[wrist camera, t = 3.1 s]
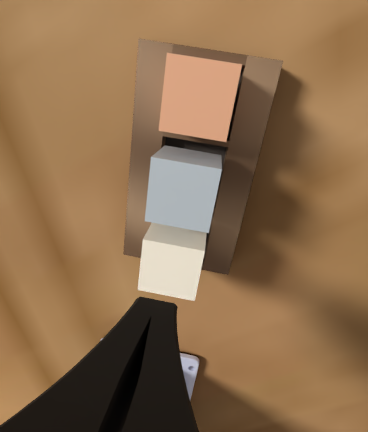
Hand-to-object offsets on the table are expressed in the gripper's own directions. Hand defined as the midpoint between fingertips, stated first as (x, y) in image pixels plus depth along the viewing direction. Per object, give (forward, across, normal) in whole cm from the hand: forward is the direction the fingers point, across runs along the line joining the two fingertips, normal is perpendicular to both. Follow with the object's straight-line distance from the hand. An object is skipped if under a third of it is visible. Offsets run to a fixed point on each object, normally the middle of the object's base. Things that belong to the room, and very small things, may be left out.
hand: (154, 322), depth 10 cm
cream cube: (+6, 0, 0) cm, 6 cm away
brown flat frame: (+8, 0, -4) cm, 9 cm away
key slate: (+6, 0, -4) cm, 7 cm away
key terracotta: (+7, 0, -7) cm, 10 cm away
